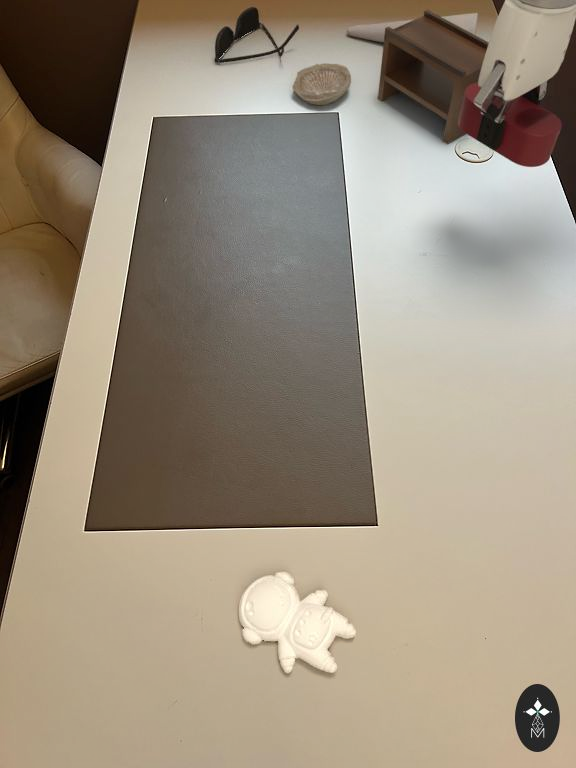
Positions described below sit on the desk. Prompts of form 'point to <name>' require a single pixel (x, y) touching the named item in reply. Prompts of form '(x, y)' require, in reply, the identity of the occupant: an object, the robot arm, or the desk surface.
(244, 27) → the sunglasses
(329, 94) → the fossil
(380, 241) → the desk surface
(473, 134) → the red rounded block
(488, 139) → the robot arm
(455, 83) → the rack
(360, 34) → the pale tapered cone
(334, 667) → the astronaut figurine
